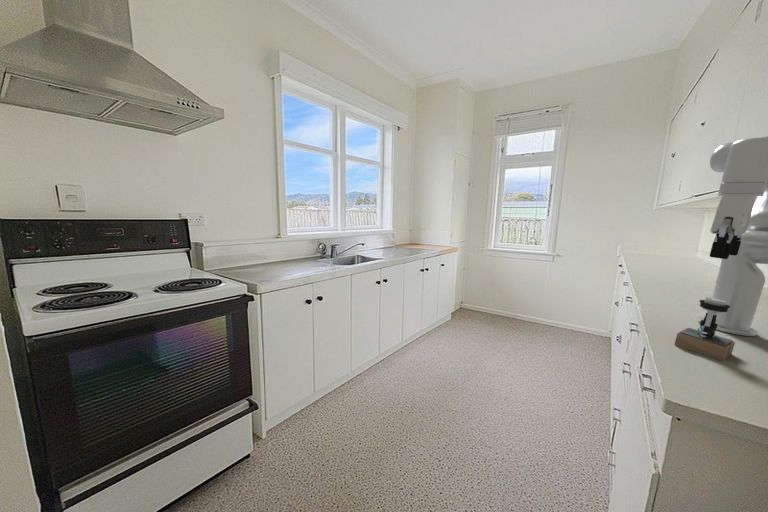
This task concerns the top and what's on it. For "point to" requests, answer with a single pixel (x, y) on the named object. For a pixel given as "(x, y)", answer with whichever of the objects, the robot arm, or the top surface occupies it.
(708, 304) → the push button
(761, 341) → the top surface
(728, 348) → the stand
